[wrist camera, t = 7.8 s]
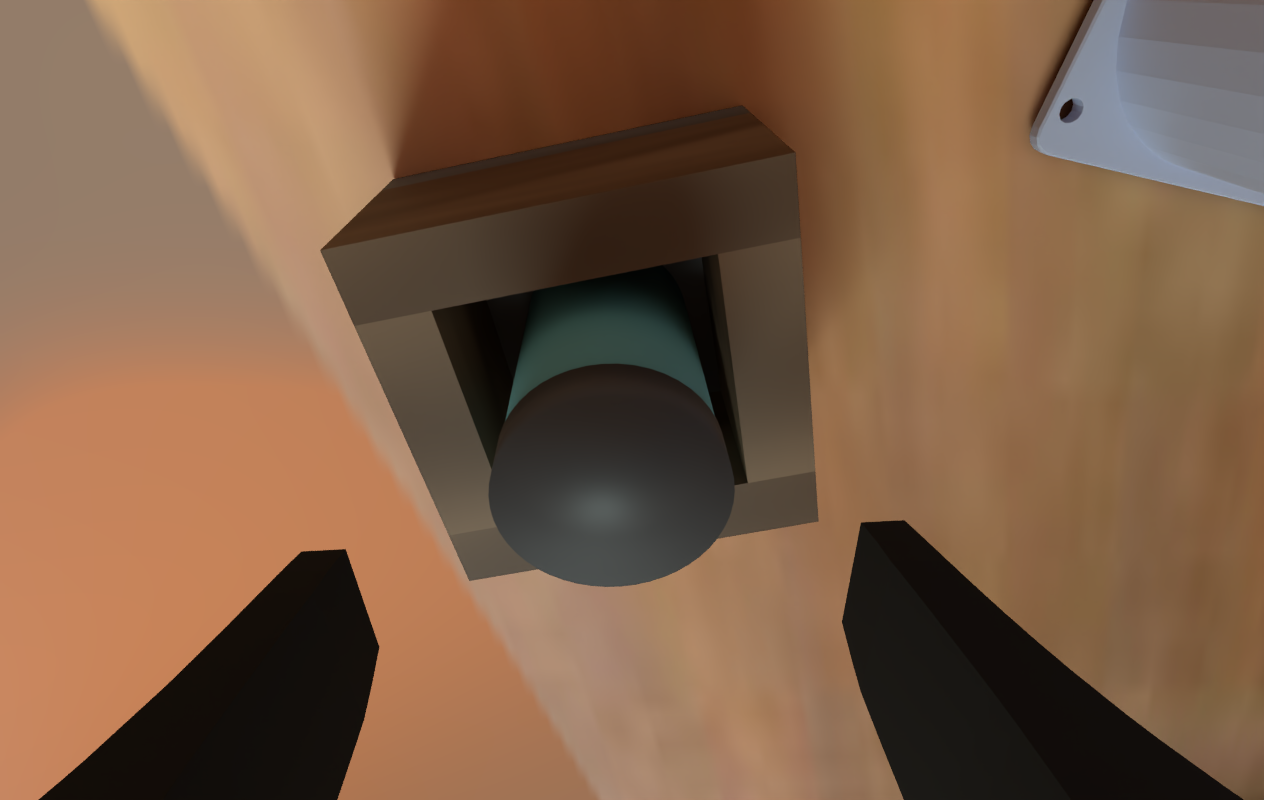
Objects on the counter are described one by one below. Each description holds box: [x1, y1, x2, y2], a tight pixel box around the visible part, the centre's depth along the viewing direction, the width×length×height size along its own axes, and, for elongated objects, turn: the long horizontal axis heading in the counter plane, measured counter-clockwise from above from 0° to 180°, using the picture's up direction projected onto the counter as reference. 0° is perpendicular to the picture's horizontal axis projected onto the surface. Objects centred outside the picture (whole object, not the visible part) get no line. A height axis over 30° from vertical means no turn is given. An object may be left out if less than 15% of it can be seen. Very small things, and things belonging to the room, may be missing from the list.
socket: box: [320, 106, 818, 581], centre depth 16 cm, size 8×8×5 cm
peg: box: [488, 265, 735, 587], centre depth 14 cm, size 4×4×7 cm
